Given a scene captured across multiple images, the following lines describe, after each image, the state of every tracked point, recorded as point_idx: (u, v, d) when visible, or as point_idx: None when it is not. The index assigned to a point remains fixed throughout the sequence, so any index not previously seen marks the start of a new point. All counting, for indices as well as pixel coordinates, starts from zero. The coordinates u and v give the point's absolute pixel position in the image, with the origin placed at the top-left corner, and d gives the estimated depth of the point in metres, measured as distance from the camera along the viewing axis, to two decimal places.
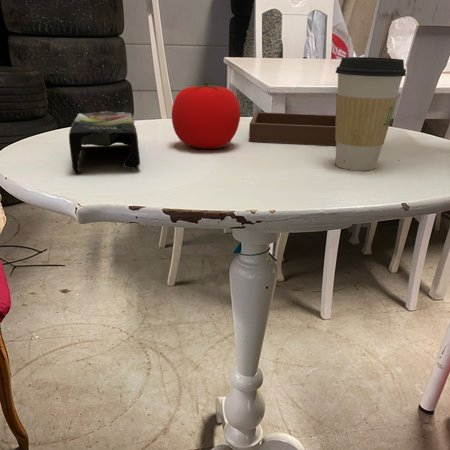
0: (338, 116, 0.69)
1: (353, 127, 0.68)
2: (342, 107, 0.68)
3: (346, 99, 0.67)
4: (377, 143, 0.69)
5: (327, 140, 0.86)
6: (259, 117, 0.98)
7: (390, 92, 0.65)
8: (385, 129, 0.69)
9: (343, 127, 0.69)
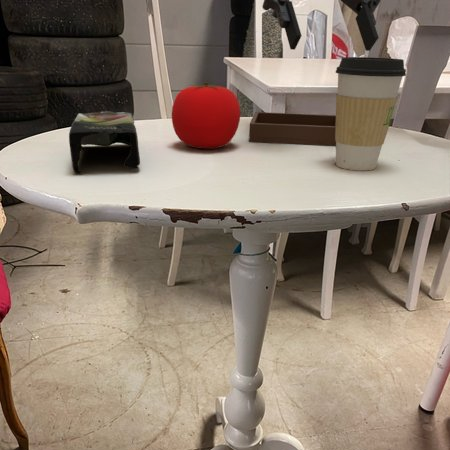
0: (338, 116, 0.69)
1: (353, 127, 0.68)
2: (342, 107, 0.68)
3: (346, 99, 0.67)
4: (377, 143, 0.69)
5: (327, 140, 0.86)
6: (259, 117, 0.98)
7: (390, 92, 0.65)
8: (385, 129, 0.69)
9: (343, 127, 0.69)
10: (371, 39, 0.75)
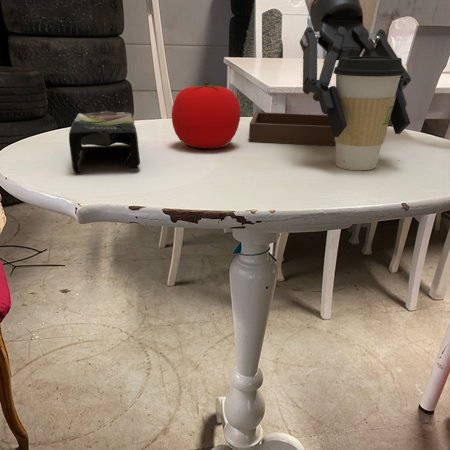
0: None
1: (352, 127, 0.68)
2: None
3: (344, 100, 0.67)
4: (376, 142, 0.69)
5: (327, 140, 0.86)
6: (259, 117, 0.98)
7: (388, 92, 0.65)
8: (384, 128, 0.68)
9: None
10: (402, 124, 0.69)
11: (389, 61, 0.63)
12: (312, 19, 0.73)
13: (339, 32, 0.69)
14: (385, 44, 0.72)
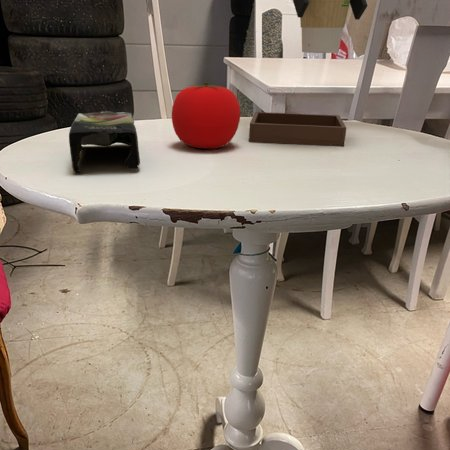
0: None
1: (314, 8, 0.74)
2: None
3: None
4: (337, 25, 0.76)
5: (327, 140, 0.86)
6: (259, 117, 0.98)
7: None
8: (344, 11, 0.75)
9: (306, 11, 0.76)
10: (360, 7, 0.76)
11: None
12: None
13: None
14: None
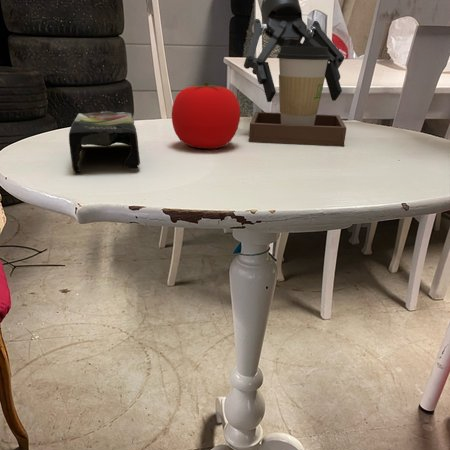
0: (280, 92, 0.89)
1: (291, 100, 0.87)
2: (282, 84, 0.87)
3: (284, 78, 0.86)
4: (310, 113, 0.89)
5: (327, 140, 0.86)
6: (259, 117, 0.98)
7: (317, 72, 0.85)
8: (316, 102, 0.88)
9: (284, 100, 0.89)
10: (336, 92, 0.89)
11: (316, 48, 0.82)
12: (262, 15, 0.92)
13: (281, 25, 0.88)
14: (320, 32, 0.91)
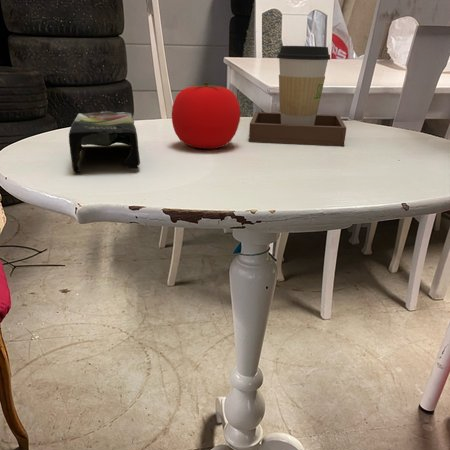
0: (280, 92, 0.89)
1: (291, 100, 0.87)
2: (282, 84, 0.87)
3: (284, 78, 0.86)
4: (310, 113, 0.89)
5: (327, 140, 0.86)
6: (259, 117, 0.98)
7: (317, 72, 0.85)
8: (316, 102, 0.88)
9: (284, 100, 0.89)
10: None
11: (316, 48, 0.82)
12: None
13: None
14: None
